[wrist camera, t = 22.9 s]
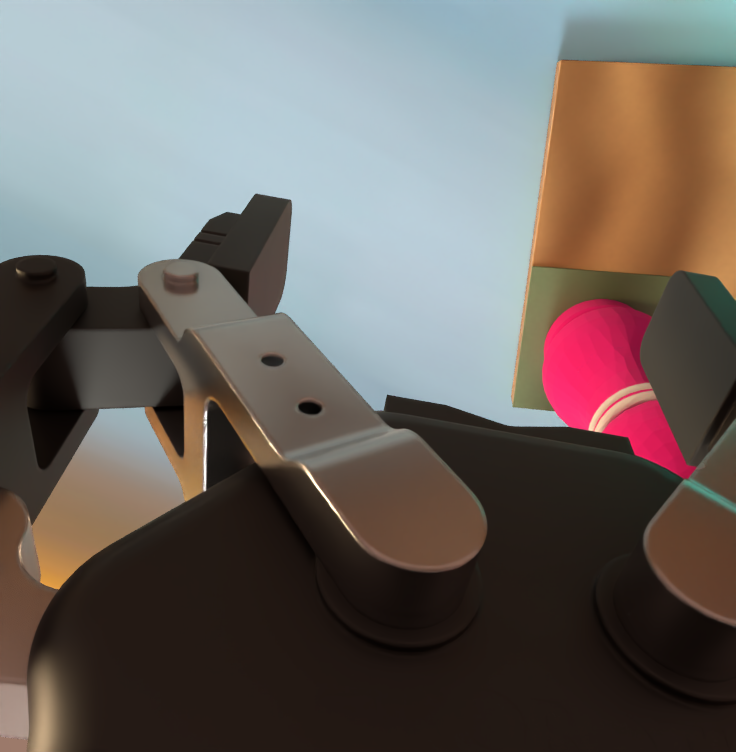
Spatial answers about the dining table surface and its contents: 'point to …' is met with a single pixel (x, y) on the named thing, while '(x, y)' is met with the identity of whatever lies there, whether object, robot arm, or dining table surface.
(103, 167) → the dining table surface
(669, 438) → the pepper mill
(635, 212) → the oak board
